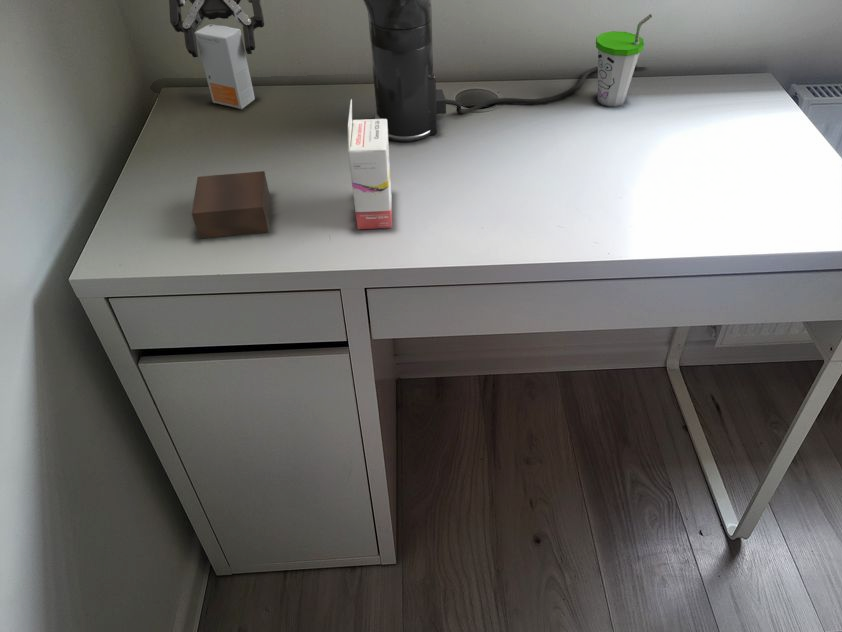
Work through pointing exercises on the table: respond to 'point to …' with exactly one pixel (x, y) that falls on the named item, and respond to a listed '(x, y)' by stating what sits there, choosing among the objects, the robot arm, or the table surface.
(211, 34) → the cosmetic box
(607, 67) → the cup
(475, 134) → the table surface
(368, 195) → the ink cartridge box
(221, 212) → the block
